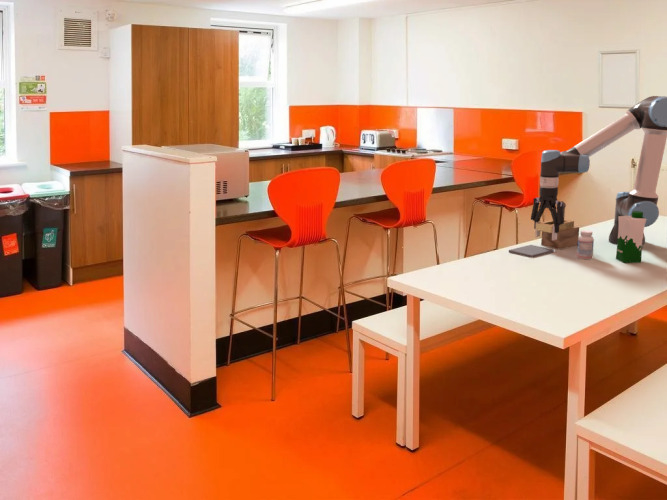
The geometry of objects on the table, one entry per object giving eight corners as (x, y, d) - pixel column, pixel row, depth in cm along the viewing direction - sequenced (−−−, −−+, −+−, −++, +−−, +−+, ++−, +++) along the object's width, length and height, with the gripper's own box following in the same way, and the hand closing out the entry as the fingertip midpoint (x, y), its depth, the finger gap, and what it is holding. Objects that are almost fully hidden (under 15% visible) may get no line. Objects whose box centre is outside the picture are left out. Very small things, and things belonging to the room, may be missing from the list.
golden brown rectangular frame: (573, 227, 297) (574, 221, 296) (551, 232, 288) (551, 226, 287) (558, 224, 303) (558, 218, 303) (535, 229, 294) (536, 223, 294)
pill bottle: (580, 255, 282) (582, 229, 280) (594, 257, 278) (597, 231, 275) (574, 257, 278) (576, 231, 275) (588, 260, 274) (590, 233, 271)
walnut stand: (578, 244, 300) (581, 201, 295) (560, 249, 292) (563, 205, 288) (559, 240, 308) (561, 198, 303) (541, 245, 300) (543, 202, 296)
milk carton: (644, 263, 268) (649, 214, 264) (622, 264, 268) (627, 214, 263) (633, 257, 277) (637, 210, 272) (612, 258, 276) (616, 210, 271)
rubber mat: (553, 251, 288) (553, 249, 288) (531, 257, 280) (531, 255, 279) (530, 246, 298) (530, 244, 297) (508, 252, 289) (508, 250, 289)
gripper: (523, 184, 294) (521, 235, 299) (564, 190, 277) (561, 243, 283) (534, 183, 298) (531, 232, 303) (575, 188, 282) (571, 240, 287)
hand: (545, 238), depth 293 cm, fingers closed on golden brown rectangular frame, 8 cm apart
